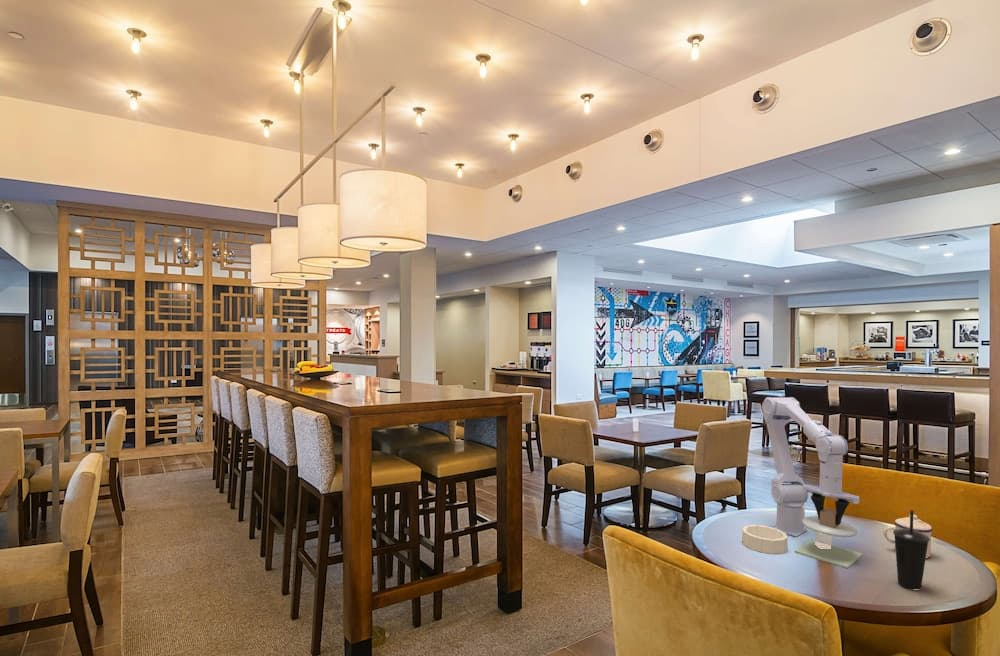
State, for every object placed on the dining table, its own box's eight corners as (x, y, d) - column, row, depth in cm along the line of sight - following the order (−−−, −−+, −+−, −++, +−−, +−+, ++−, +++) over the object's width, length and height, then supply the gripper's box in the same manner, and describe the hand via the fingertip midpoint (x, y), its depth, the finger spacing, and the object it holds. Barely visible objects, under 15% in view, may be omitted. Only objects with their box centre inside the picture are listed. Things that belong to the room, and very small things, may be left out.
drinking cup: (930, 596, 138) (932, 517, 138) (892, 588, 142) (895, 511, 142) (926, 584, 145) (928, 509, 145) (890, 576, 149) (892, 503, 149)
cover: (812, 515, 173) (812, 500, 173) (863, 529, 162) (864, 513, 162) (794, 525, 164) (795, 509, 163) (848, 541, 153) (849, 524, 153)
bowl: (752, 534, 177) (753, 522, 177) (792, 546, 168) (793, 533, 168) (735, 544, 169) (735, 531, 169) (776, 557, 160) (777, 543, 160)
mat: (811, 540, 173) (811, 539, 173) (862, 555, 163) (862, 553, 163) (794, 552, 164) (794, 550, 164) (847, 568, 153) (847, 566, 153)
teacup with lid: (924, 550, 168) (925, 512, 167) (936, 562, 159) (937, 522, 159) (878, 544, 172) (879, 507, 172) (887, 555, 163) (889, 516, 163)
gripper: (799, 473, 166) (798, 517, 166) (854, 484, 155) (853, 532, 155) (808, 469, 170) (806, 512, 171) (862, 480, 160) (860, 526, 160)
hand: (829, 521), depth 163 cm, fingers closed on cover, 4 cm apart
